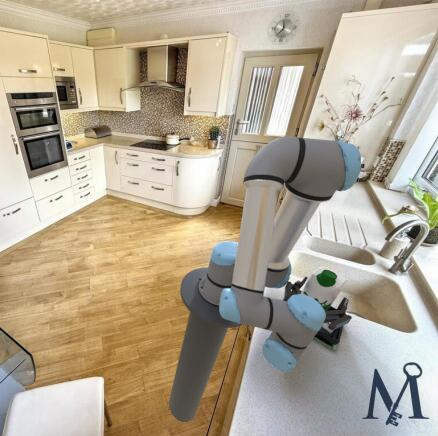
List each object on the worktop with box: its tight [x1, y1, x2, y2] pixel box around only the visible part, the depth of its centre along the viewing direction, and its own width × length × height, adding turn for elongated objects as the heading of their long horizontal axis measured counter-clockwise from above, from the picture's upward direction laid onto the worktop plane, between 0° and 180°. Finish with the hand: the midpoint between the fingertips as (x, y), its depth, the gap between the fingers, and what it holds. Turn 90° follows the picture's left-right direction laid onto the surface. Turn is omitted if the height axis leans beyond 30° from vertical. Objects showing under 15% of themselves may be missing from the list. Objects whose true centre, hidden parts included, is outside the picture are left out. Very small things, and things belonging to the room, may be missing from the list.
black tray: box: [291, 289, 349, 352], centre depth 84 cm, size 18×16×11 cm
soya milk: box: [301, 265, 348, 311], centre depth 81 cm, size 9×9×20 cm
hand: (323, 289), depth 79 cm, fingers open, 11 cm apart
